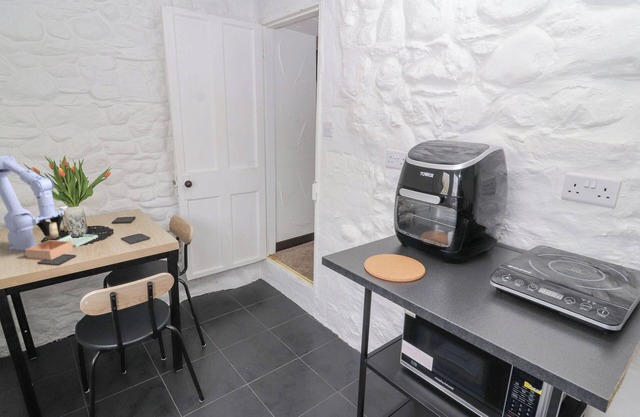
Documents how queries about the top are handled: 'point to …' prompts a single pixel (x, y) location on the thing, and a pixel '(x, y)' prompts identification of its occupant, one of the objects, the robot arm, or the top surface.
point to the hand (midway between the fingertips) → (52, 233)
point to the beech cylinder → (53, 230)
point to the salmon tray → (49, 249)
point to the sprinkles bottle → (64, 218)
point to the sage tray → (79, 239)
